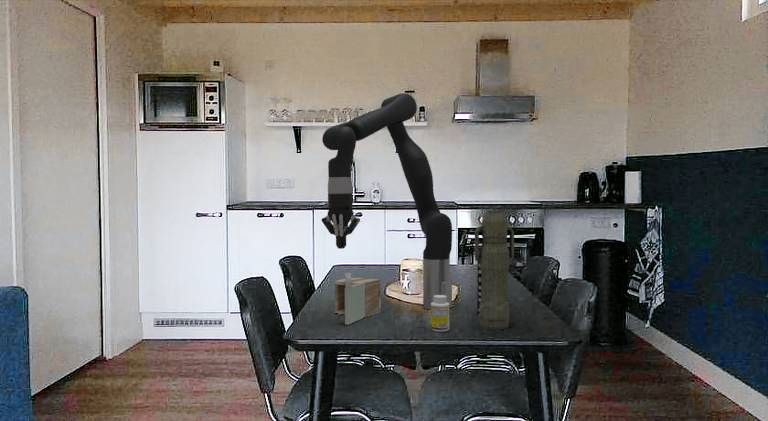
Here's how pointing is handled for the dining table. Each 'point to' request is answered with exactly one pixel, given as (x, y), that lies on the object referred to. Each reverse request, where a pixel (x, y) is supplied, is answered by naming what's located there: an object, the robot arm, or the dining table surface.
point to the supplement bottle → (440, 314)
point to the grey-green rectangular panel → (354, 300)
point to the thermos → (494, 269)
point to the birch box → (370, 295)
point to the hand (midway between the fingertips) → (341, 248)
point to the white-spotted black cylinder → (478, 287)
